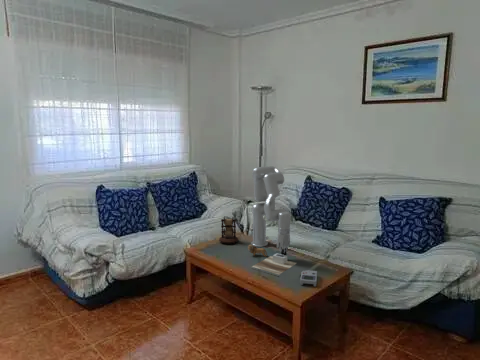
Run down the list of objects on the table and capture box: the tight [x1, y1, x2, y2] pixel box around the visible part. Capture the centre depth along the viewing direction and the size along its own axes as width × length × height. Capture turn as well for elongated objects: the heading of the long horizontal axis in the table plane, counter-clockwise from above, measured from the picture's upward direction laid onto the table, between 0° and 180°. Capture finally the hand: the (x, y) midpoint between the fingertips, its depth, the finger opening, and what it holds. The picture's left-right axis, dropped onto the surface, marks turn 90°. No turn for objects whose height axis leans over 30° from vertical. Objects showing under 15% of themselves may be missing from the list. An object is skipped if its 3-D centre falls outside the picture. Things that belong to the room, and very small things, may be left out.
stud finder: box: [272, 253, 288, 264], centre depth 222 cm, size 5×8×4 cm, turn 53°
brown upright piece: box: [218, 216, 239, 245], centre depth 264 cm, size 15×15×20 cm
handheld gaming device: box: [299, 269, 318, 287], centre depth 198 cm, size 9×15×4 cm, turn 166°
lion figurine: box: [247, 244, 268, 258], centre depth 233 cm, size 15×5×9 cm, turn 86°
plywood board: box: [251, 255, 297, 278], centre depth 217 cm, size 22×20×2 cm
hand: (283, 257), depth 226 cm, fingers closed
